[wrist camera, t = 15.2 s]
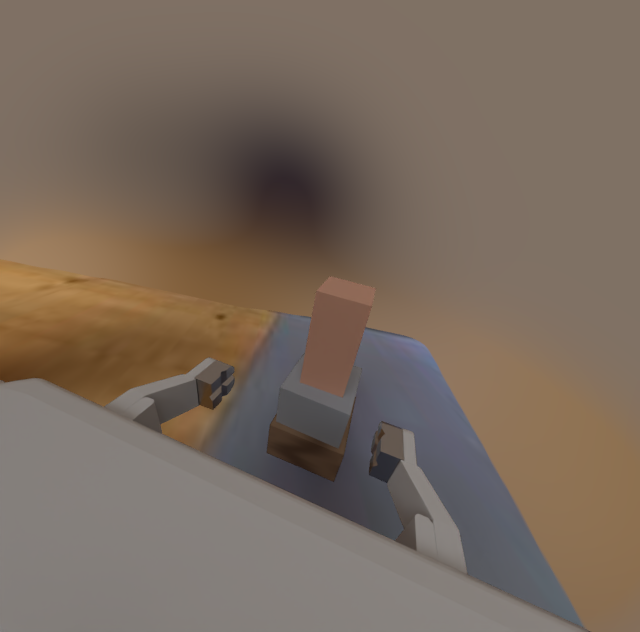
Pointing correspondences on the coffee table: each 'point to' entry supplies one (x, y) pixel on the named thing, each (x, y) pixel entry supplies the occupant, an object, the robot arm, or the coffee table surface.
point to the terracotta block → (335, 334)
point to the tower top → (316, 407)
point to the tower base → (306, 449)
